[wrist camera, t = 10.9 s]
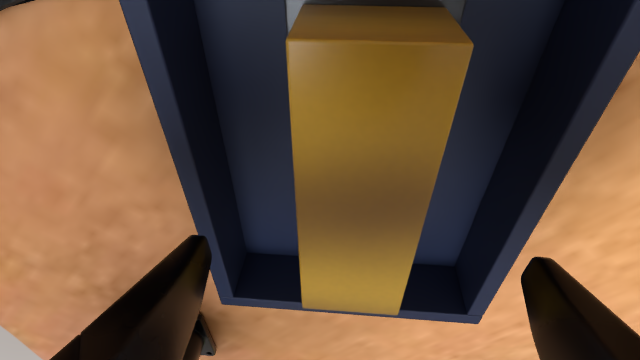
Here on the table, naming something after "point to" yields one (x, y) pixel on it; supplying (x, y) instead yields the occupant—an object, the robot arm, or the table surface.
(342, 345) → the table surface
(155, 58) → the blue tray
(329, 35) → the duster
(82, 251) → the table surface
